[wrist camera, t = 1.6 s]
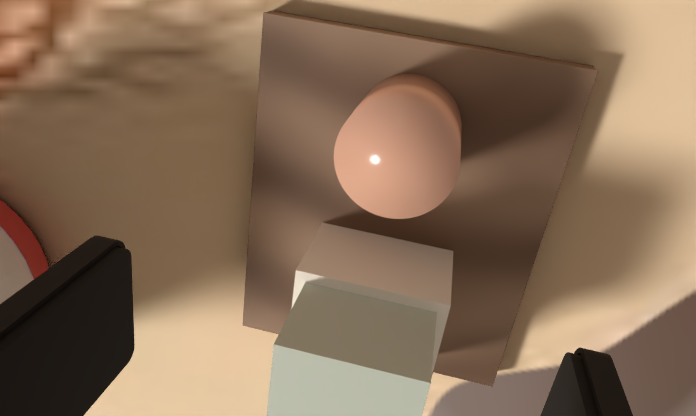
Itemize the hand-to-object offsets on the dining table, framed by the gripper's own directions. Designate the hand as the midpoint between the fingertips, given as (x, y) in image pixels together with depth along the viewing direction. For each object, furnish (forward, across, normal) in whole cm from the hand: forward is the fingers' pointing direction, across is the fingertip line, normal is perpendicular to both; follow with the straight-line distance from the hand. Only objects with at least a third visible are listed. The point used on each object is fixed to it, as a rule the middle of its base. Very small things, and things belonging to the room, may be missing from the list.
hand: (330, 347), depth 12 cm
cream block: (+16, 0, +9) cm, 19 cm away
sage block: (+11, 0, +9) cm, 15 cm away
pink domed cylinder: (+16, 0, 0) cm, 16 cm away
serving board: (+18, 0, +5) cm, 18 cm away
